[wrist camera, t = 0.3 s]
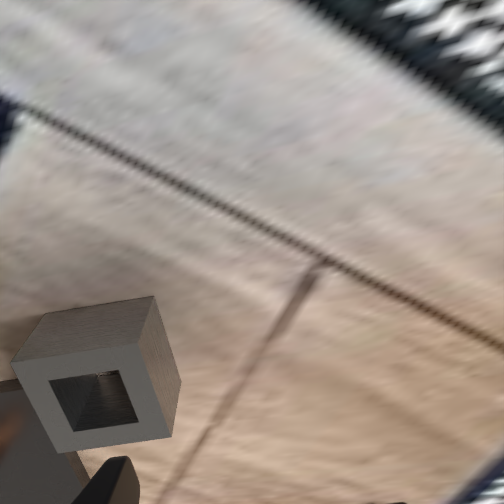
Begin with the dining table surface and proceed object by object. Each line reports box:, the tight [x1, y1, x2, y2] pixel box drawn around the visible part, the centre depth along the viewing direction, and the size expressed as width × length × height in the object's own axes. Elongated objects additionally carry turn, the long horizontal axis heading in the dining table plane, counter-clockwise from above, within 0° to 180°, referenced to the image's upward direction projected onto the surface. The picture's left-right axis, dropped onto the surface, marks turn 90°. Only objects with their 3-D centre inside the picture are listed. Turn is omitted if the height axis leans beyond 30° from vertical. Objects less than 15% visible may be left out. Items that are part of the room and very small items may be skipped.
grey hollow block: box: [10, 296, 181, 453], centre depth 23 cm, size 6×6×4 cm
